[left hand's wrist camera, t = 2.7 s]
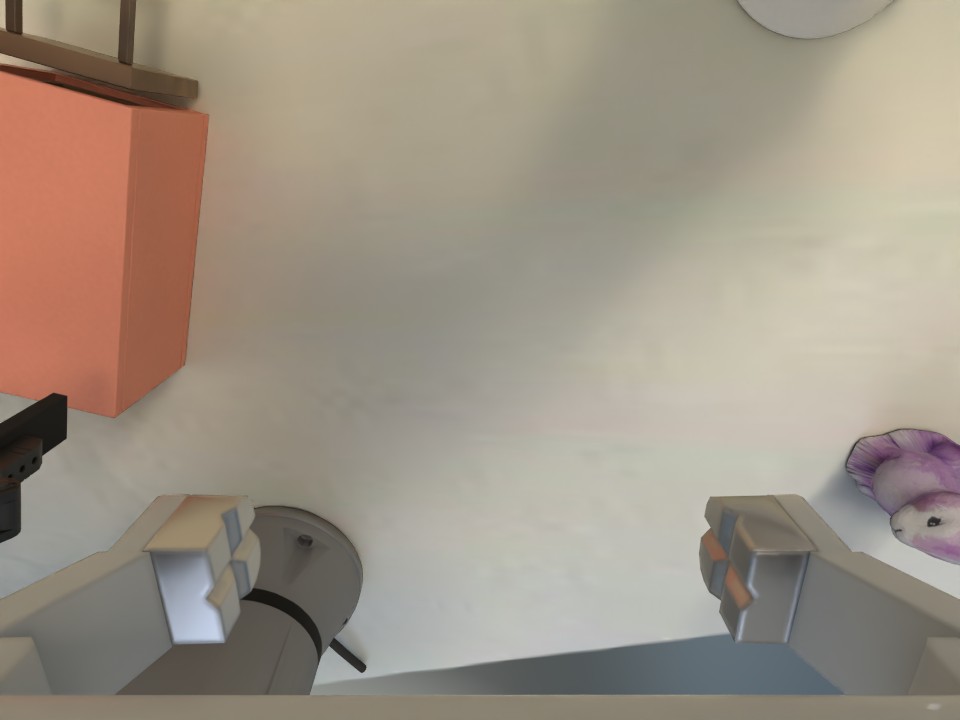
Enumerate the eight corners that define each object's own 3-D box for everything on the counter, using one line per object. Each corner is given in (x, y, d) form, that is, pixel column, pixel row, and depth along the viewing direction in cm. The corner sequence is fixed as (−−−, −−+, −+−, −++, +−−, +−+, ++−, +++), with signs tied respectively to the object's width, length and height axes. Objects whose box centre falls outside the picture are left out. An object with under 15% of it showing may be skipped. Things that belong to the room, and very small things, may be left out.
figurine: (819, 455, 53) (942, 570, 39) (932, 399, 51) (1105, 499, 37) (856, 529, 55) (983, 662, 41) (964, 479, 54) (1136, 600, 39)
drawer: (52, -50, 39) (-56, -98, 31) (206, -5, 40) (138, -41, 32) (49, 300, 47) (-38, 332, 39) (175, 331, 48) (116, 369, 40)
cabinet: (51, 71, 42) (-75, 51, 32) (209, 115, 43) (132, 108, 33) (48, 332, 49) (-57, 379, 39) (185, 365, 50) (115, 418, 40)
